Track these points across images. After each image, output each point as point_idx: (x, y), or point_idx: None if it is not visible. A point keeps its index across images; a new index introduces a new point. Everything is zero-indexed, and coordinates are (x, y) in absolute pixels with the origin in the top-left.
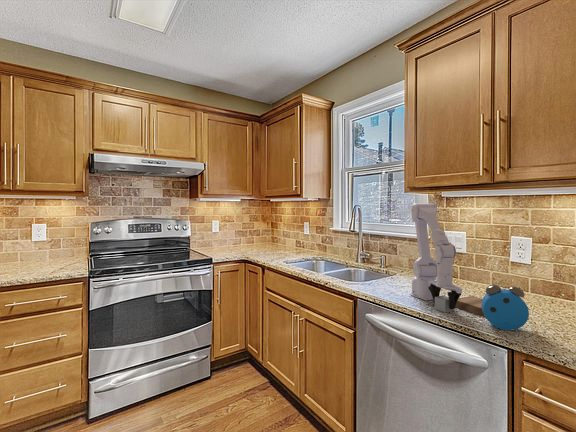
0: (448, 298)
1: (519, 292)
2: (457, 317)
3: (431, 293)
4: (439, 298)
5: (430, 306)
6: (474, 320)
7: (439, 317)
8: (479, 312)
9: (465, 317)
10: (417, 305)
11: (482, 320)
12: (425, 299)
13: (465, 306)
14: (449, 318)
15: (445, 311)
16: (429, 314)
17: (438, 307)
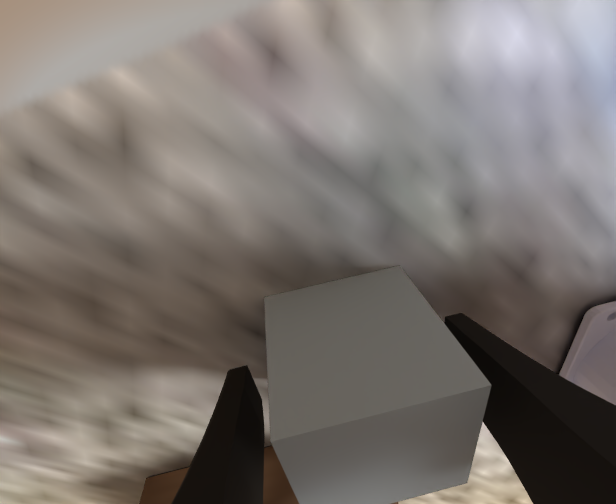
0: (338, 492)
1: None
2: (88, 328)
3: (610, 408)
4: (389, 410)
5: (464, 260)
6: (9, 412)
7: (61, 109)
8: (151, 500)
9: (95, 386)
10: (578, 129)
11: (24, 454)
12: (604, 312)
13: (276, 481)
14: (33, 229)
15: (266, 309)
16: (214, 30)
17: (357, 295)
